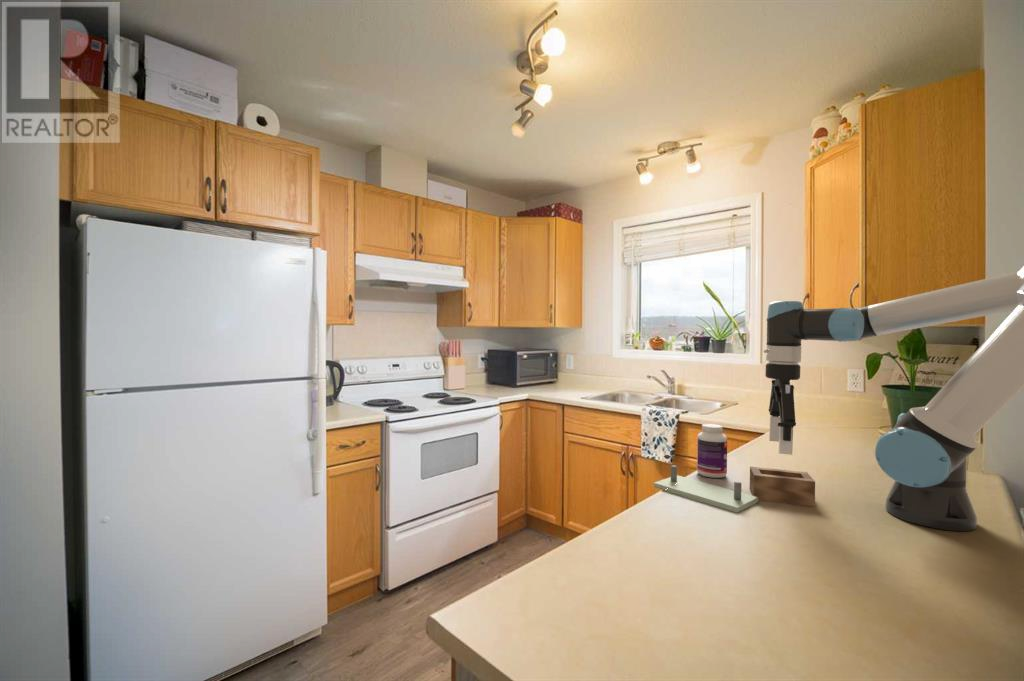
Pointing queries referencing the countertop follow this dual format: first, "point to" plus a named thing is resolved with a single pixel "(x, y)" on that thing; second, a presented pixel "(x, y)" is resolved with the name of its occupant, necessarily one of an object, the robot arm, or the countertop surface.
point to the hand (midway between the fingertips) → (780, 447)
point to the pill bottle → (712, 451)
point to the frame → (782, 486)
